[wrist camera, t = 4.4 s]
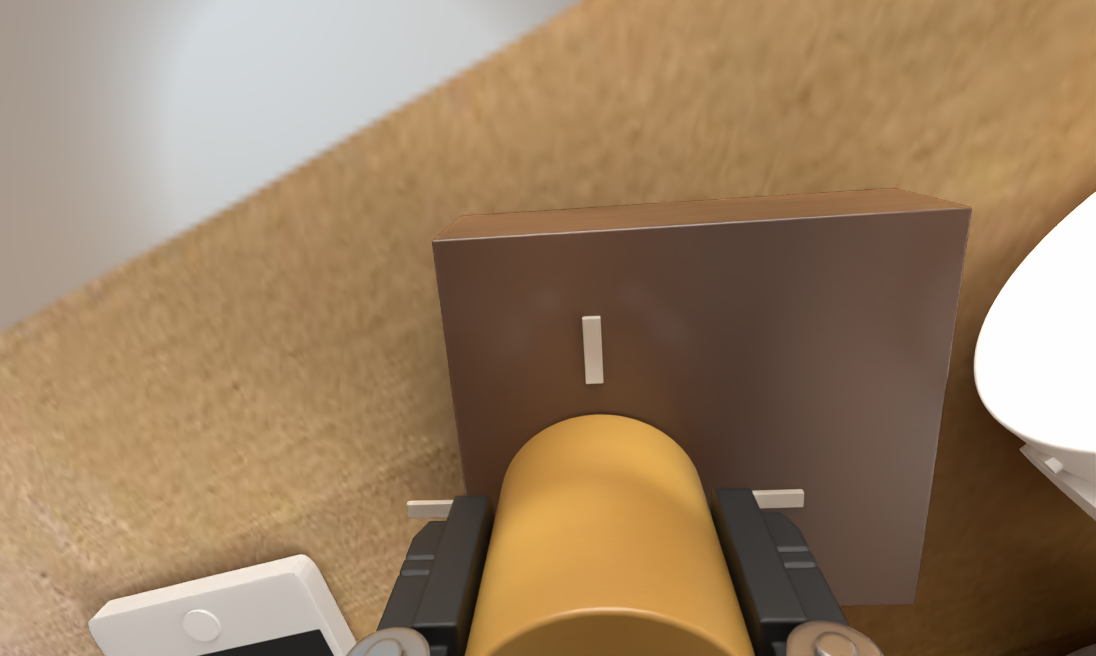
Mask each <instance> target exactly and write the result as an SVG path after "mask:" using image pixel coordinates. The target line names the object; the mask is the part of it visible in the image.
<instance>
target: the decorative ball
mask: <svg viewBox="0 0 1096 656" xmlns="http://www.w3.org/2000/svg"><path fill="white" fill-rule="evenodd" d="M1066 656H1096V644H1093V645H1090V646H1087V647H1084V648H1082V649H1079V650H1077V651H1075V652H1073V653H1070V654H1068V655H1066Z"/></svg>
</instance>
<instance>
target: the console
mask: <svg viewBox="0 0 1096 656" xmlns="http://www.w3.org/2000/svg"><path fill="white" fill-rule="evenodd" d="M971 212H972V208H971V207H969V206H965V205H961V204H957V203H953V202H949V201H945V200H941V199H937V198H933V197H929V196H925V195H921V194H917V193H913V192H909V191H905V190H901V189H897V188H886V189H871V190H855V191H840V192H824V193H808V194H793V195H777V196H762V197H746V198H731V199H715V200H700V201H684V202H669V203H653V204H638V205H622V206H607V207H591V208H575V209H560V210H544V211H529V212H513V213H498V214H482V215H467V216H461V217H459V218H458V219H457V220H456V221H455V222H453V223H452V224H451V225H450V226H449V227H448V228H446V229H445V230H444V231H443V232H442V233H441V234H439V235H438V236H437V237H436V238H435V239H434V240H433V241H432V246H433V253H434V261H435V268H436V276H437V284H438V291H439V299H440V306H441V314H442V321H443V329H444V336H445V344H446V352H447V359H448V367H449V374H450V382H451V389H452V397H453V404H454V412H455V420H456V427H457V435H458V442H459V450H460V457H461V465H462V472H463V480H464V488H465V495H466V496H470V495H491V497H492V500H493V507H494V515H496V511H497V506H498V501H499V497H500V492H501V488H502V484H503V480H504V477H505V474H506V472H507V469H508V467H509V465H510V463H511V462H512V460H513V458H514V457H515V455H516V454H517V453H518V451H519V450H520V449H521V448H522V447H523V446H524V445H525V444H526V443H527V442H528V441H529V440H530V439H531V438H533V437H534V436H535V435H537V434H538V433H540V432H541V431H543V430H544V429H546V428H548V427H550V426H552V425H554V424H556V423H559V422H561V421H564V420H567V419H570V418H575V417H579V416H585V415H595V414H602V415H616V416H624V417H627V418H631V419H635V420H638V421H641V422H643V423H646V424H648V425H651V426H652V427H654V428H656V429H658V430H660V431H662V432H663V433H664V434H666V435H667V436H669V437H670V438H671V439H673V440H674V441H675V442H676V443H677V444H678V445H679V446H680V447H681V448H682V449H683V450H684V452H685V453H686V454H687V455H688V457H689V458H690V459H691V461H692V463H693V465H694V466H695V468H696V470H697V473H698V475H699V478H700V481H701V484H702V487H703V490H704V493H705V497H706V500H707V503H708V506H709V509H710V513H711V491H712V489H713V488H742V487H749V488H751V490H752V492H753V494H754V496H755V499H756V501H757V503H758V505H759V508H760V510H761V512H762V513H764V512H781V513H782V514H783V515H784V516H785V517H787V518H788V519H789V520H790V521H791V522H792V523H794V524H795V525H796V526H797V527H798V528H799V529H800V530H801V532H802V534H803V536H804V538H805V540H806V542H807V544H808V546H809V550H810V551H811V552H812V554H813V556H814V558H815V560H816V562H817V565H818V567H820V569H821V571H822V573H823V575H824V577H825V579H826V581H827V583H828V585H829V587H830V589H831V591H832V593H833V595H834V597H835V598H836V600H837V602H838V604H839V606H869V605H914V604H915V602H916V595H917V588H918V581H919V574H920V567H921V560H922V553H923V546H924V539H925V532H926V525H927V518H928V512H929V505H930V498H931V491H932V484H933V477H934V470H935V463H936V456H937V449H938V442H939V435H940V428H941V421H942V414H943V407H944V400H945V393H946V386H947V379H948V372H949V365H950V358H951V351H952V344H953V337H954V330H955V323H956V316H957V310H958V303H959V296H960V289H961V282H962V275H963V268H964V261H965V254H966V247H967V240H968V233H969V226H970V219H971ZM452 502H453V500H427V501H408V503H407V511H408V517H409V518H437V517H448V514H449V511H450V508H451V505H452Z"/></svg>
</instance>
